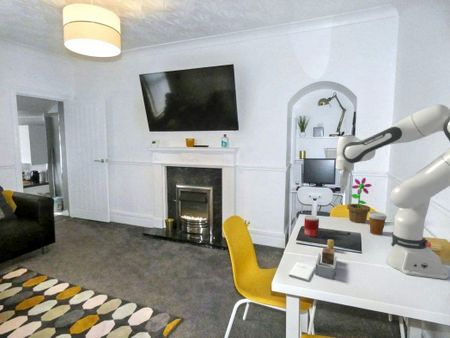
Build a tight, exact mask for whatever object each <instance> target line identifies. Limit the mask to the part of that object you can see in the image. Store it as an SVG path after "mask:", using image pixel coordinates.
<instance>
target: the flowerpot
mask: <svg viewBox="0 0 450 338" xmlns="http://www.w3.org/2000/svg"><path fill="white" fill-rule="evenodd" d="M366 181H367V179H366V177H363V178H362V179H361V181H360V180H359V179H357V178H354V182H355V183H356V185H352V186H351V188H352V189H354V190H355V189H358V190H357V193H353V194H351V195H350V197H352V198H353V199H358V200H357V201H358V202H357V203H348V204H347V205H346V206H347V207H346V209H347V210H348V217H349V218H348V219H349V221H350V222H351V223H355V224H365V223H366V222H367V218H368V215H369V213H370V212H371V207H370V206H369V205H365V204H367V202H366V201H364V200H361V194H362V191H363V192H364V193H365V194H367V195H368V194H369V190H368V189H367V188H370V187H372V184H371V183H366Z"/></svg>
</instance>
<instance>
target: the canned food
mask: <svg viewBox="0 0 450 338" xmlns="http://www.w3.org/2000/svg"><path fill="white" fill-rule="evenodd" d="M319 223H320V218H319V216H316V215H308V214H307V215H305V216H304V226H303V227H304V230H303V234H304V236H305V235H306V236H305V237H307V236H310V237H309V238H317V237H318V236H319V225H320V224H319ZM316 236H317V237H316Z"/></svg>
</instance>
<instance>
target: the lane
mask: <svg viewBox="0 0 450 338" xmlns="http://www.w3.org/2000/svg"><path fill="white" fill-rule="evenodd" d="M337 258H338V257H337V256H334V262H333V264H332V266H331V267H330V266H327V265H322V264H321V262H322V253H318V256H317V259H316V263H315V266H314V267H315V269H314V275H315V276H318V277H323V278H327V279H331V280H335V276H336V269H337V260H338V259H337Z"/></svg>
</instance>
